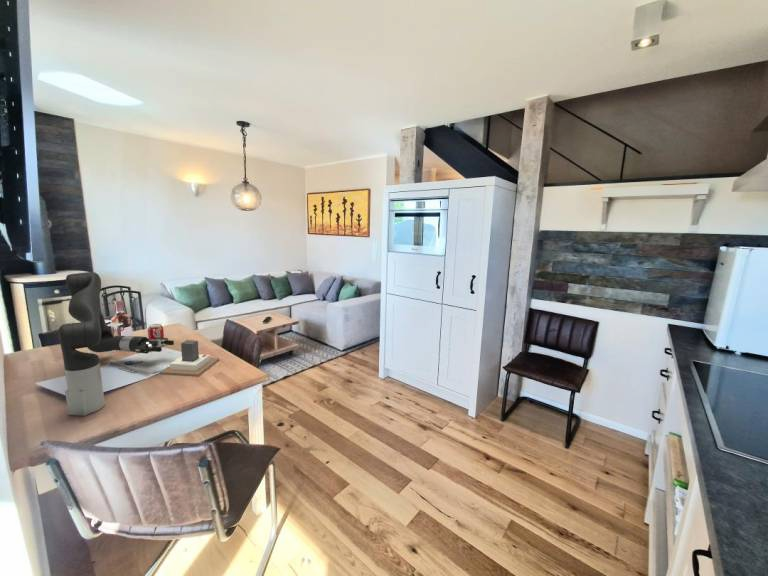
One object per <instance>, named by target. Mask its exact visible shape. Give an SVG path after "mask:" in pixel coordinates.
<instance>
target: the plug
mask: <svg viewBox="0 0 768 576" xmlns="http://www.w3.org/2000/svg"><path fill="white" fill-rule="evenodd" d="M180 348H181V357H182V361H190V362H194V361H195V360H197V359H198V358H199V354H200V353H199V340H193V339H192V340H191V339H186V340H183V342H181V343H180Z"/></svg>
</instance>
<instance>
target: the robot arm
mask: <svg viewBox="0 0 768 576" xmlns="http://www.w3.org/2000/svg"><path fill="white" fill-rule="evenodd" d="M65 285H66V288H67V290H68V292H69V294H70V296H71V298H70V299H69V303H68V308H67V309H68V313H69V315H70V316H71V317H72V318H73V319H74V320H76V321H78V322H72V323H64V324H62V325H60V326H59V328H58V334H57V335H58V341H59V345H60V349H61V353H62V358H63V359H62V360H63V367H64V373H65V381H66V386H67V389H66V390H64V394H65V399H66V401H65V402H66V407H67V413H68V416H84V417H85V416H87V415H89V414H93V413H95V412H98V411H99V410H101V409H103V408H104V407H105V406H106V405H105V397H104V396H105V395H104V387H103V379H102V378H103V377H102V370H101V363H100V362H101V361H100V356H99V355H98V354H97V353H106V352H113V351H122V352H129V353H130V352H131V353H136V354H137V353H138V354H149V353H153V352H157V353H160V352H163V349H162V346H165V345H166V346H173V345H175V341H174V340H171V339H169V338H168V337H164V338H155V340H149V339H148V336H138V335H115V336H114V334H113V333H112V331H111V330H110V328H108V326H107V325H106V321H105V318H104V314H103V313H102V312H101V298H100V297H101V296H100V295H101V290H102V280H101V276H100V275H99V274H98V273H97V272H94V271H87V272H79V273H78V272H77V273H69V274H67V275H66V277H65ZM158 343H159V345H158ZM161 343H162V344H161ZM161 345H162V346H161ZM160 346H161V347H160ZM84 348H87V349H88V350H89V351H91V352H83V351H80V350H79V349H84Z"/></svg>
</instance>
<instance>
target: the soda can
mask: <svg viewBox="0 0 768 576" xmlns="http://www.w3.org/2000/svg"><path fill="white" fill-rule="evenodd" d="M147 335H148V336H147V338H148V339H149V340H155V338H165V331H164V327H163V325H162V323H154V324H153V323H152V324H149V325H148V328H147ZM161 344H162V343H161ZM158 345H159V343H158ZM162 346H163V345H161V346H160V347H161V348H162Z"/></svg>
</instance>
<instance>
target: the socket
mask: <svg viewBox="0 0 768 576" xmlns="http://www.w3.org/2000/svg"><path fill="white" fill-rule="evenodd" d="M219 361H220V358H217V357H211V355H210V354H206V353H205V354H204V353H203V354H200V353H199V358H198V359H197V360H195V361H194V362H190V361H182V356H180V357H178V358H176V359H175V360H174V361H172V362H170V364H169V366H170V367H168V366H167V367H165V368H163V369H162V370H161V371H159V374H160V375H171V376H185V377H188V376H189V377H199V376H201V375H202V374H204V373H205V372H206V371H207V370H209V369H210V368H212V367H213V366H214V365H215V364H217V363H218V362H219Z"/></svg>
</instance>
